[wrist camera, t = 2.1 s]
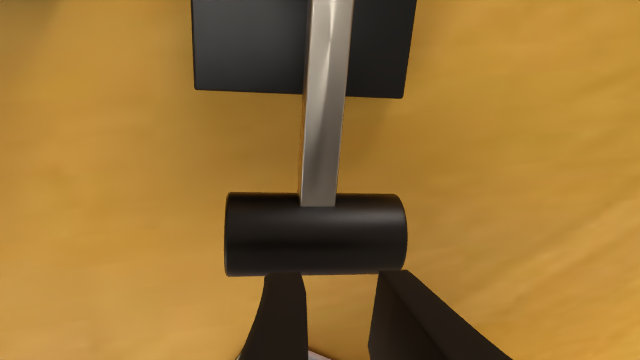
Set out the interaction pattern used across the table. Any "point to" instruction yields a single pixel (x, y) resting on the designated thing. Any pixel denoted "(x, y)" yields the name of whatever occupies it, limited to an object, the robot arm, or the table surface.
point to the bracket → (296, 46)
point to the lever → (317, 183)
